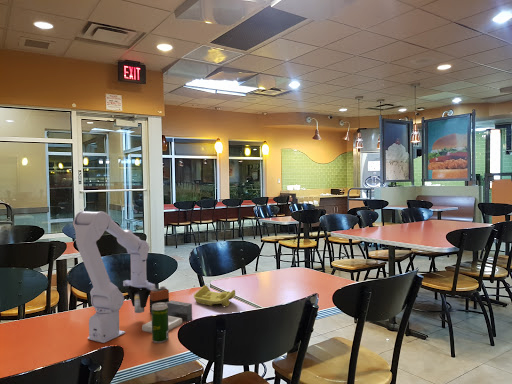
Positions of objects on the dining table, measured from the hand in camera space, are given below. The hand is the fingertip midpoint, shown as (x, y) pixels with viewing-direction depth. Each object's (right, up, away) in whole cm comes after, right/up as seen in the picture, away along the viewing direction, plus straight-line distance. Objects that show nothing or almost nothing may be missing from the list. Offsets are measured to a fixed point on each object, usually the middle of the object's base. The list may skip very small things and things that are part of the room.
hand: (139, 306), depth 148 cm
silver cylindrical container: (0, -2, 0) cm, 2 cm away
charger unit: (+15, -5, +1) cm, 16 cm away
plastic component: (+27, -5, +19) cm, 33 cm away
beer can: (+13, -6, -19) cm, 24 cm away
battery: (+6, -5, +9) cm, 11 cm away
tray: (+11, -5, -8) cm, 14 cm away
